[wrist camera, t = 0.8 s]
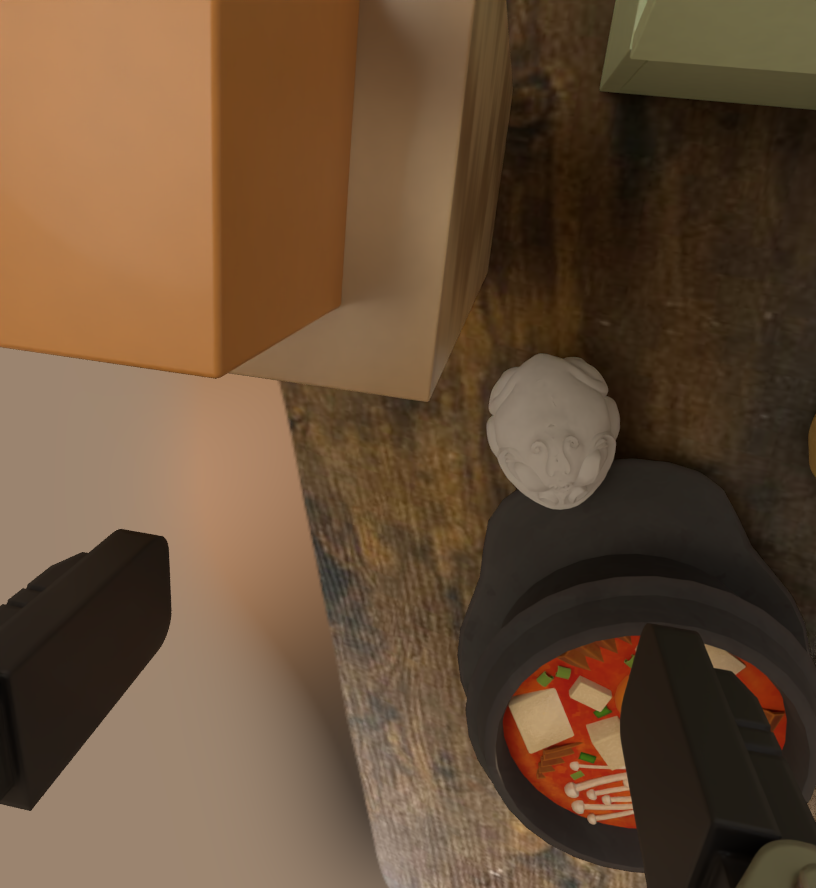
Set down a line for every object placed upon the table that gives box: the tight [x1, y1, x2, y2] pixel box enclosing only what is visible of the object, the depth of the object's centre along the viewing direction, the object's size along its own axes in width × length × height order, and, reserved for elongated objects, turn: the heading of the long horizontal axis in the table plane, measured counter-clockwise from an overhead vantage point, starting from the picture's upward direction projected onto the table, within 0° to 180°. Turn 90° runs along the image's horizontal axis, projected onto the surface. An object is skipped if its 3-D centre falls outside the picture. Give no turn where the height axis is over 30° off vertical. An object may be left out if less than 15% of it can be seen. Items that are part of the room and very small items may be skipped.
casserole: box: [458, 458, 816, 873], centre depth 34 cm, size 25×19×8 cm
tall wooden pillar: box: [229, 0, 513, 402], centre depth 21 cm, size 8×8×22 cm
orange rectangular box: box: [0, 0, 360, 379], centre depth 8 cm, size 5×5×5 cm
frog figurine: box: [486, 353, 620, 510], centre depth 31 cm, size 6×7×7 cm
